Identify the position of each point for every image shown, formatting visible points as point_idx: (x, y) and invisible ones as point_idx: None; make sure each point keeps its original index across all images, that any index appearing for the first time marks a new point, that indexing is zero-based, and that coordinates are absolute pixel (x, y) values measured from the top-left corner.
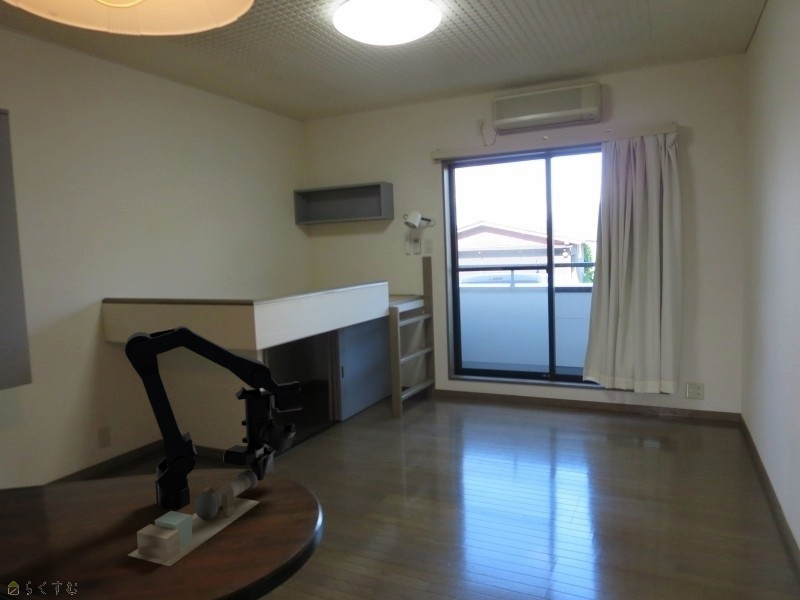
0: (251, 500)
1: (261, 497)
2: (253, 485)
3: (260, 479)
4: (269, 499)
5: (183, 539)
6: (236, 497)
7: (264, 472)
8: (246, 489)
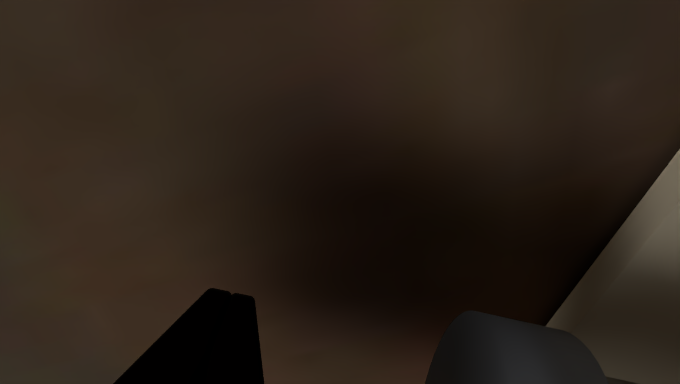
0: (662, 232)
1: (444, 159)
2: (593, 361)
3: (256, 315)
4: (504, 49)
5: None
6: None
7: (169, 355)
8: (614, 378)
